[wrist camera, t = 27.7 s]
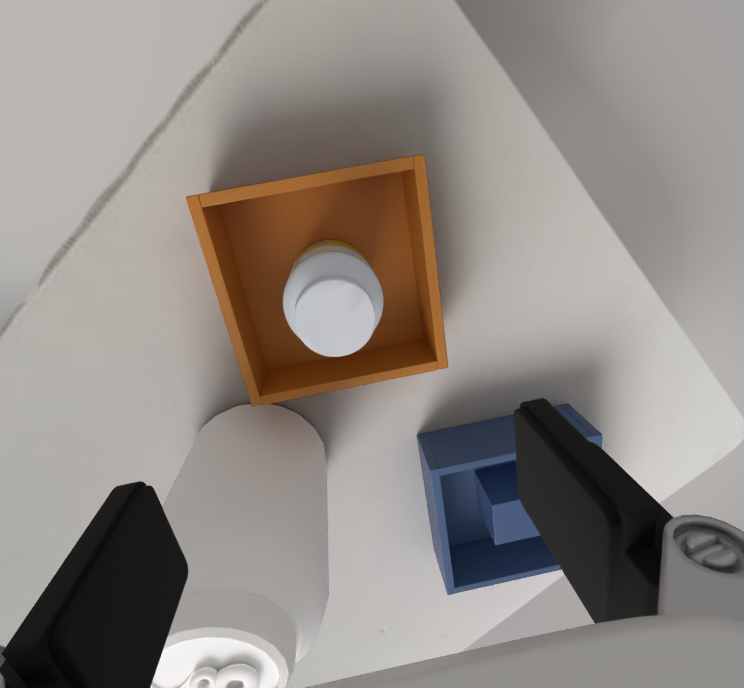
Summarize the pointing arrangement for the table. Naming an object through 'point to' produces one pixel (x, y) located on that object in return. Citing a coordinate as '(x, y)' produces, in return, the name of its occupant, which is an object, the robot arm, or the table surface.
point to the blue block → (502, 504)
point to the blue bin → (460, 510)
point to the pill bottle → (332, 298)
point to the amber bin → (290, 237)
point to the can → (248, 551)
